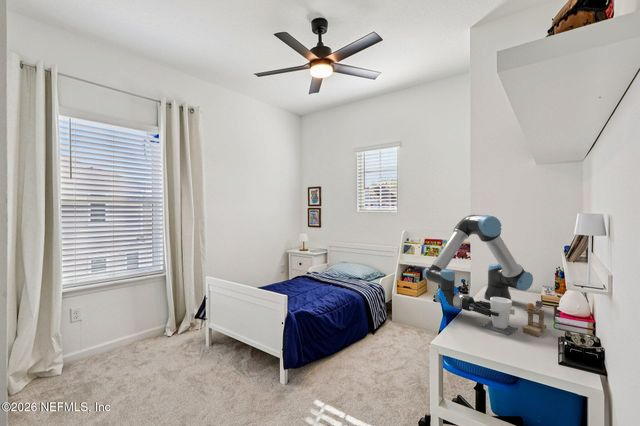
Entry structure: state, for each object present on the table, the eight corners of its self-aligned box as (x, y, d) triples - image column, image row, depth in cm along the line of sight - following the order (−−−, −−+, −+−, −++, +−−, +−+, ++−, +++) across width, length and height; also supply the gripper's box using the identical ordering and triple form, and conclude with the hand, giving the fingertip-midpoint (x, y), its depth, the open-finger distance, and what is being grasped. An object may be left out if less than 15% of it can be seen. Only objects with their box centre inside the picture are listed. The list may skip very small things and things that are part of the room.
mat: (491, 321, 161) (491, 320, 161) (517, 329, 152) (517, 327, 152) (482, 327, 153) (482, 325, 153) (508, 335, 144) (508, 334, 144)
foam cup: (514, 330, 147) (515, 303, 147) (493, 328, 149) (494, 301, 149) (506, 323, 156) (507, 297, 156) (486, 321, 158) (487, 296, 158)
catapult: (532, 325, 157) (533, 296, 156) (546, 329, 152) (547, 298, 152) (520, 334, 146) (522, 302, 146) (535, 338, 141) (537, 305, 141)
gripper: (472, 305, 173) (518, 317, 156) (454, 313, 159) (501, 327, 142) (473, 292, 173) (518, 302, 156) (454, 299, 159) (502, 311, 142)
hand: (510, 314), depth 149 cm, fingers closed on foam cup, 9 cm apart
